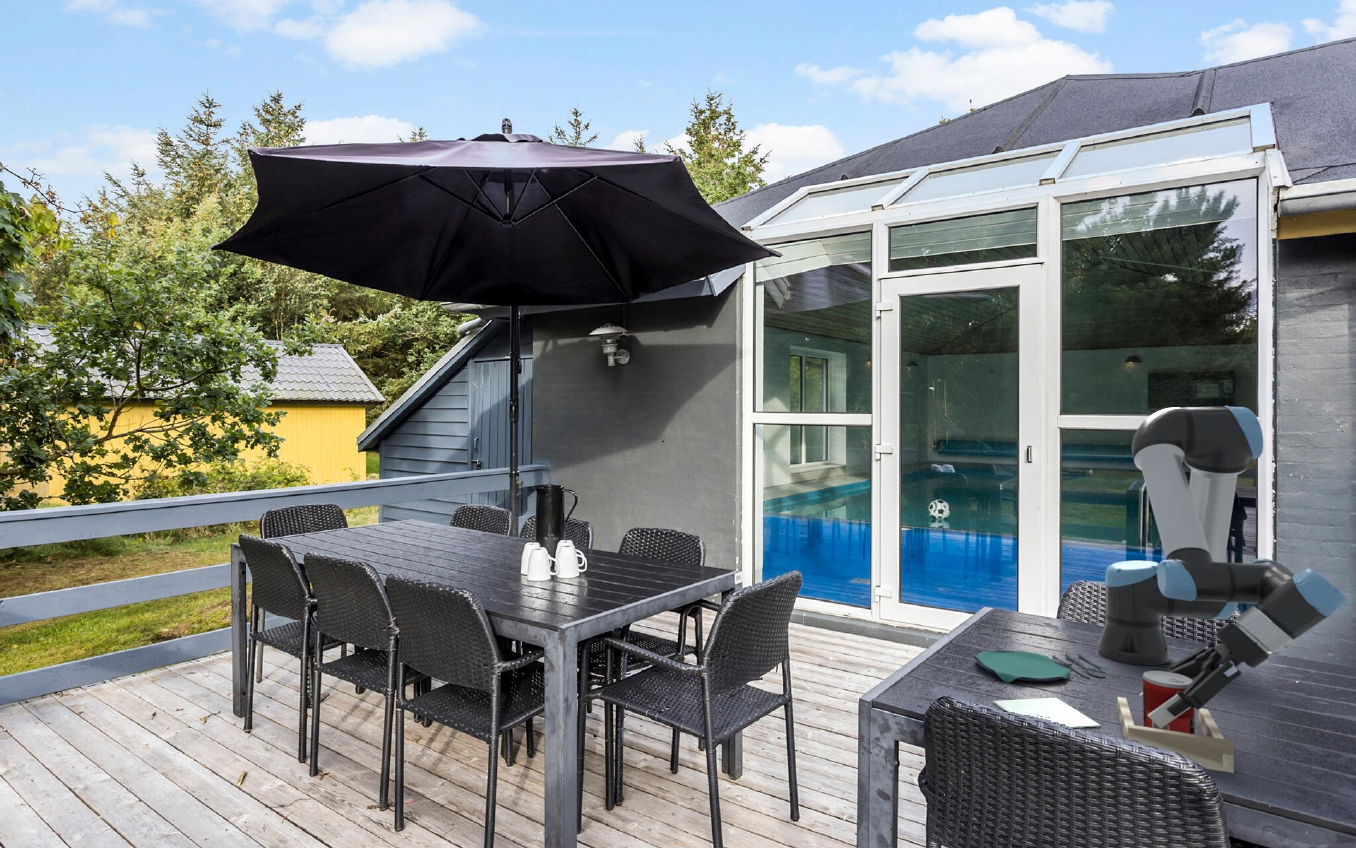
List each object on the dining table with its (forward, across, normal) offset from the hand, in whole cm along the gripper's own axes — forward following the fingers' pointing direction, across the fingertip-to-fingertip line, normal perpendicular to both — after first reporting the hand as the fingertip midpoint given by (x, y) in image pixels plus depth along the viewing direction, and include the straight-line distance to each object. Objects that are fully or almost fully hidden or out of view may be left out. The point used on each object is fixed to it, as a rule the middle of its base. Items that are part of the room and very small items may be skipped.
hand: (1149, 710), depth 137 cm
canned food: (+1, 0, -5) cm, 5 cm away
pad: (+16, +2, +10) cm, 18 cm away
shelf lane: (+1, -1, -5) cm, 5 cm away
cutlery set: (+16, +30, +9) cm, 35 cm away
